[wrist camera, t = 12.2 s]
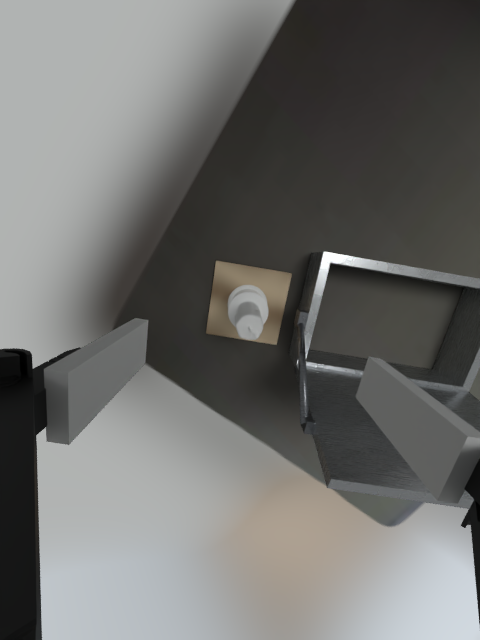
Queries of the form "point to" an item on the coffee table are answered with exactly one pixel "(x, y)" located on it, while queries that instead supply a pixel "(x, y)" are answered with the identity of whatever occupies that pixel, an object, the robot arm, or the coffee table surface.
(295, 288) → the coffee table surface
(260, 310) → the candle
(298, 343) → the case
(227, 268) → the mat
